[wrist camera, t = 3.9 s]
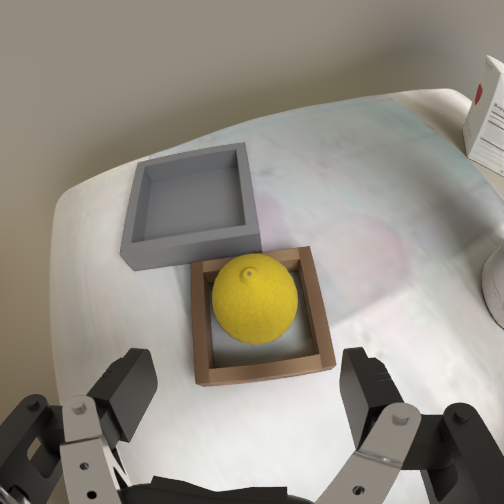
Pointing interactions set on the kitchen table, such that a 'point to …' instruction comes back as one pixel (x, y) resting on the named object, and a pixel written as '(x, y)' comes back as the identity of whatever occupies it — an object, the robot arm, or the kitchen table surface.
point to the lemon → (254, 298)
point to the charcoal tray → (191, 209)
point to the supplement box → (487, 119)
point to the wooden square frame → (209, 376)
